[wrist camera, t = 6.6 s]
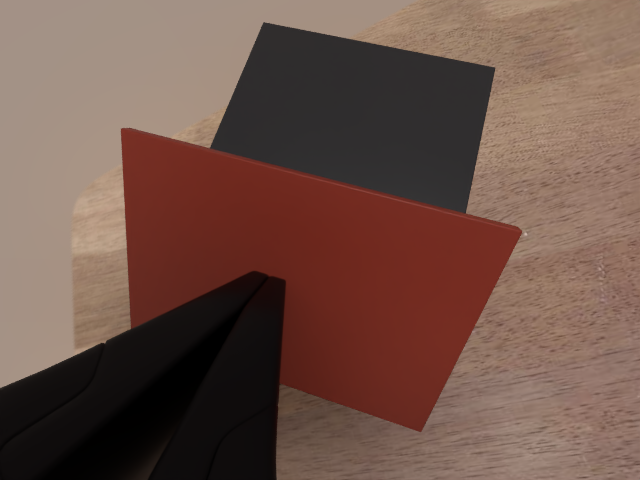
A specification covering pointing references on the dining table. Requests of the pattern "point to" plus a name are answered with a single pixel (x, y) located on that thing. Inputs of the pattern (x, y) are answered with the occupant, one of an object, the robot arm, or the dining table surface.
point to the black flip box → (360, 114)
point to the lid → (315, 268)
